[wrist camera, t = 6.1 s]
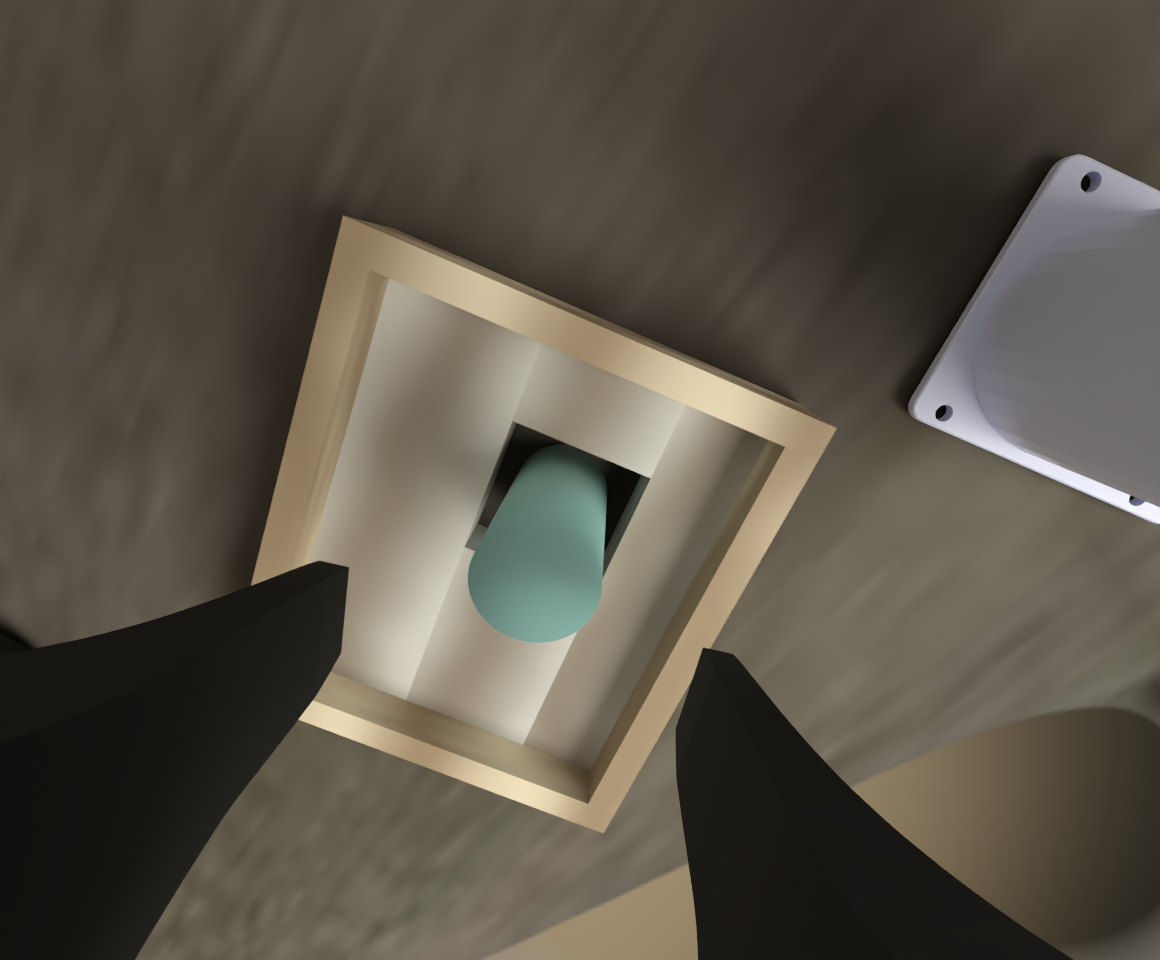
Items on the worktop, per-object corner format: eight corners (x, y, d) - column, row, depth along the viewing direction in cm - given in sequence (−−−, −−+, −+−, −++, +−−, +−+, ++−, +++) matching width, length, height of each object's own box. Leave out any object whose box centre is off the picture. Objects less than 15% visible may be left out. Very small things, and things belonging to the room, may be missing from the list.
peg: (613, 451, 20) (610, 531, 13) (601, 536, 21) (592, 651, 14) (521, 438, 20) (471, 512, 13) (512, 524, 21) (463, 633, 14)
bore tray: (799, 403, 19) (836, 428, 16) (605, 758, 24) (603, 833, 21) (394, 228, 18) (343, 215, 15) (281, 633, 23) (224, 692, 20)
